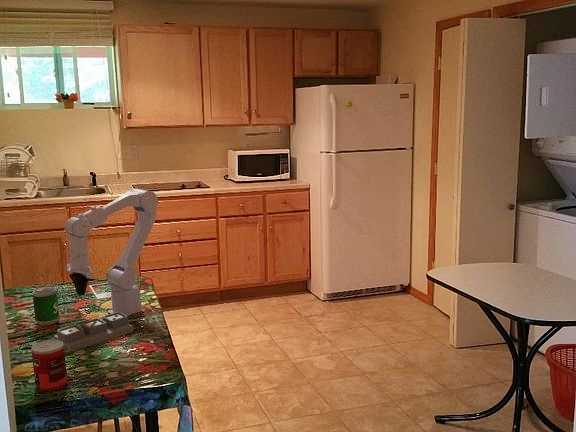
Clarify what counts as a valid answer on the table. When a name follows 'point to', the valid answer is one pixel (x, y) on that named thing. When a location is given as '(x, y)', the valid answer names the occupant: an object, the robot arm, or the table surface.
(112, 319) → the two pip button
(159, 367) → the table surface
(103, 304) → the table surface
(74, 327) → the one pip button
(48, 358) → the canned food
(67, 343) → the button panel
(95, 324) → the three pip button
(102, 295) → the photo frame
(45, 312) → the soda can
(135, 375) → the table surface
